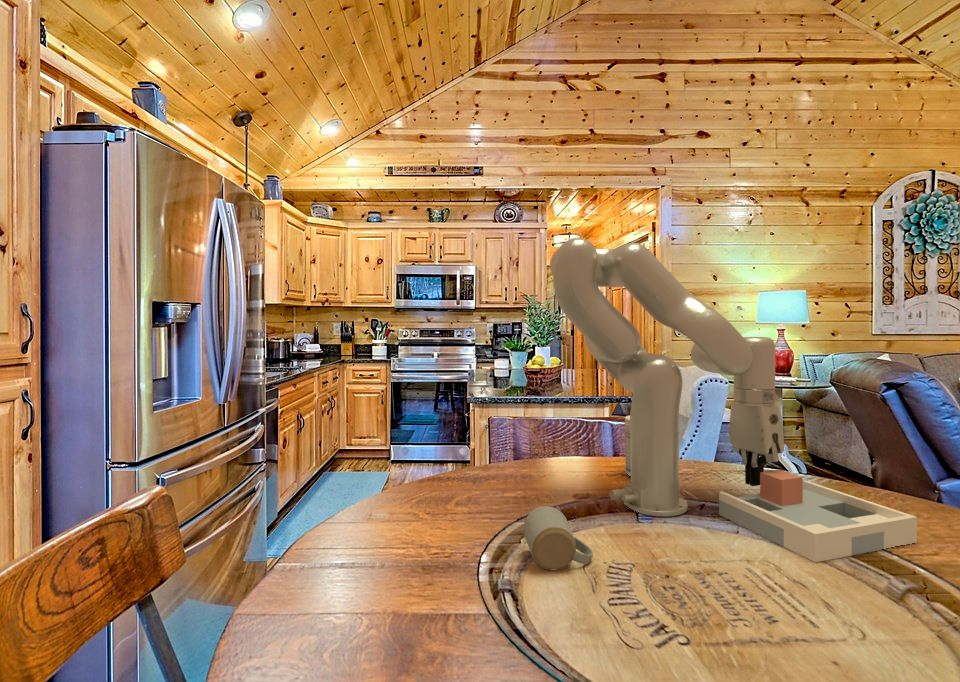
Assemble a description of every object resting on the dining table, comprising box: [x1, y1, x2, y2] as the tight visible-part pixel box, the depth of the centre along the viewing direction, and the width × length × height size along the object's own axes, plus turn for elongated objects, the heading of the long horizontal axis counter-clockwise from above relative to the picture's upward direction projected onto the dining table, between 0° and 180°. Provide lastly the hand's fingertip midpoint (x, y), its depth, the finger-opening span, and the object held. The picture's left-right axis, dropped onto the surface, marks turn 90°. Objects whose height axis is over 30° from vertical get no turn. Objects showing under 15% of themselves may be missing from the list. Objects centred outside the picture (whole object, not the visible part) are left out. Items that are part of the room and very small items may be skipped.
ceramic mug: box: [523, 505, 594, 570], centre depth 79 cm, size 11×8×8 cm
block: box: [759, 469, 804, 506], centre depth 96 cm, size 5×5×5 cm
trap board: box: [718, 480, 918, 563], centre depth 90 cm, size 22×20×4 cm
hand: (754, 484), depth 102 cm, fingers closed
